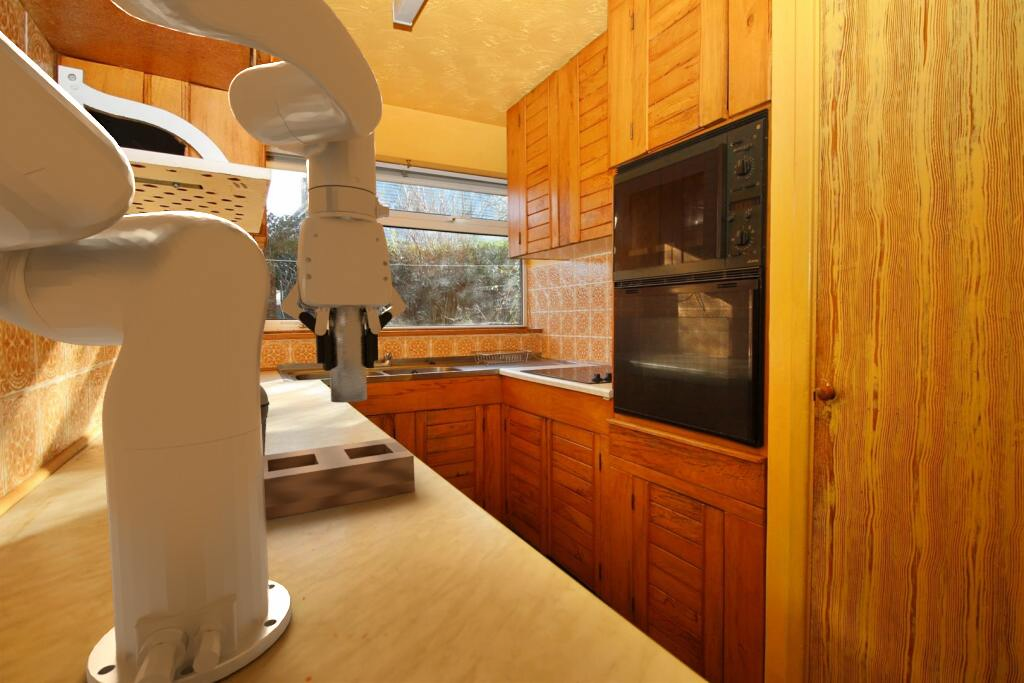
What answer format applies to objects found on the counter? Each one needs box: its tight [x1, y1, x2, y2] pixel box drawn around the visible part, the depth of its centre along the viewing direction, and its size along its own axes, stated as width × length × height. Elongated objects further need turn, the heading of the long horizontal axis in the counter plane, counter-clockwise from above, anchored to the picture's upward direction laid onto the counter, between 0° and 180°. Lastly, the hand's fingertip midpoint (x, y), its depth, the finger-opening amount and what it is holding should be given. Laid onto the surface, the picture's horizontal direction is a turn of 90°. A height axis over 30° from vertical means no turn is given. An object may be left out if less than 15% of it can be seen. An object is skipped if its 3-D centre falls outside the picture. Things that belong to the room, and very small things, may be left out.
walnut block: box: [263, 437, 416, 521], centre depth 66 cm, size 20×12×5 cm, turn 118°
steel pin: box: [328, 305, 368, 404], centre depth 55 cm, size 4×4×12 cm
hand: (348, 367), depth 55 cm, fingers closed on steel pin, 4 cm apart
